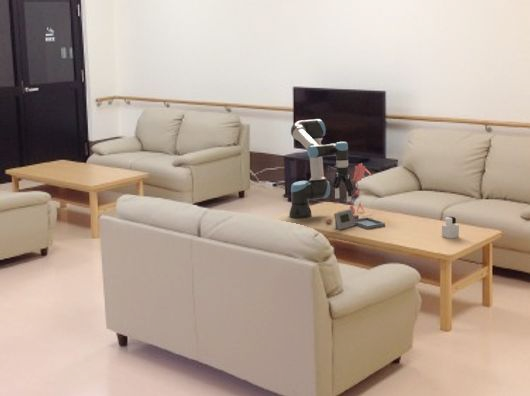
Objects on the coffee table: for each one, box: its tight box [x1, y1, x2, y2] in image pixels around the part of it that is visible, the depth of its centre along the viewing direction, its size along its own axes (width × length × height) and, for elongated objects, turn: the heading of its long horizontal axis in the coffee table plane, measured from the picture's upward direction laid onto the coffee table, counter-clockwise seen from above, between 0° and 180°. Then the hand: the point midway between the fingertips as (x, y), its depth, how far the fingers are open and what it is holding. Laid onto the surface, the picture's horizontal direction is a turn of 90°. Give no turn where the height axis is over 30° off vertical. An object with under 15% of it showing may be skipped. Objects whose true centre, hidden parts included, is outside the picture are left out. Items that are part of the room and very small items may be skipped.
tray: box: [354, 216, 386, 230], centre depth 504 cm, size 13×19×2 cm
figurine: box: [349, 162, 373, 217], centre depth 530 cm, size 15×26×35 cm, turn 135°
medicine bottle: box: [441, 216, 460, 240], centre depth 467 cm, size 7×7×12 cm
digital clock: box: [333, 208, 356, 231], centre depth 499 cm, size 16×9×11 cm, turn 123°
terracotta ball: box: [325, 217, 333, 225], centre depth 511 cm, size 4×4×4 cm
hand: (343, 199), depth 497 cm, fingers open, 13 cm apart
